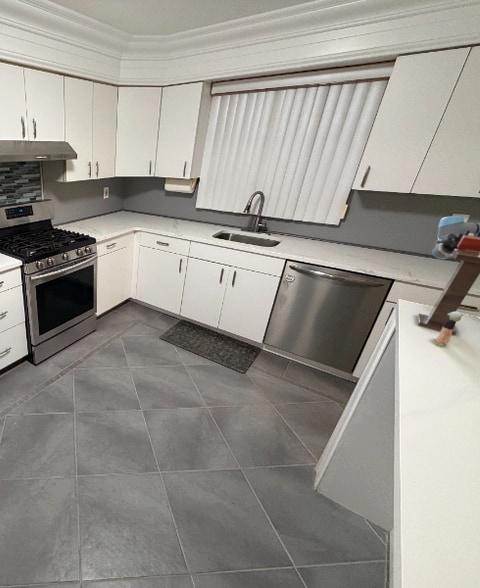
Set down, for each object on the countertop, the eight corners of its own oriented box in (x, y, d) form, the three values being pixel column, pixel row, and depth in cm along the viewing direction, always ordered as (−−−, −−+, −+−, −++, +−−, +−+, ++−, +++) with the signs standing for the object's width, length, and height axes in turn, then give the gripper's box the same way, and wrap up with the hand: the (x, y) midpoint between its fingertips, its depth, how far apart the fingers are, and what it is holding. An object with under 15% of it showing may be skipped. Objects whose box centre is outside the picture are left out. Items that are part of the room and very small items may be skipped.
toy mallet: (480, 251, 116) (487, 240, 114) (457, 248, 120) (464, 237, 117) (476, 239, 125) (482, 229, 123) (454, 236, 129) (460, 226, 127)
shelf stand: (454, 335, 115) (502, 262, 102) (417, 325, 121) (458, 255, 108) (451, 323, 123) (495, 254, 110) (416, 314, 129) (454, 248, 116)
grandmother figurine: (447, 349, 107) (468, 317, 101) (432, 344, 109) (451, 313, 103) (445, 340, 112) (465, 310, 106) (430, 336, 114) (449, 306, 109)
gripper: (474, 258, 135) (498, 248, 116) (425, 250, 144) (440, 240, 126) (482, 241, 134) (508, 229, 115) (432, 234, 143) (448, 222, 124)
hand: (472, 234), depth 120 cm, fingers closed on toy mallet, 2 cm apart
